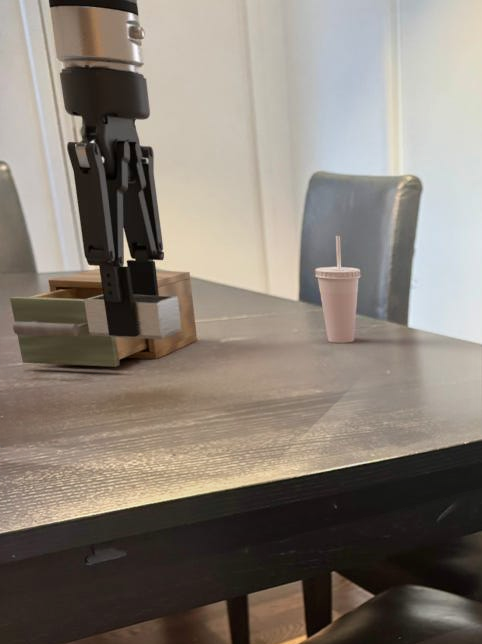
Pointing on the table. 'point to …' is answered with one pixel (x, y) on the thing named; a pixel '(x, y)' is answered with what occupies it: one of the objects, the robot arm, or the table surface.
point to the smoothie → (339, 299)
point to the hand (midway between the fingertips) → (136, 330)
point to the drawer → (66, 331)
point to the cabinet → (167, 286)
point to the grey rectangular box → (139, 316)
